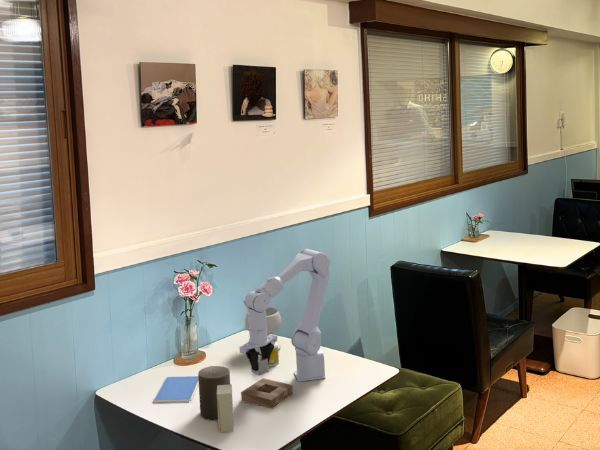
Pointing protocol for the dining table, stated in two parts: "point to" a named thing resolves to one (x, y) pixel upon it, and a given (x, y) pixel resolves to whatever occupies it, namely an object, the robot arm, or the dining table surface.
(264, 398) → the holder
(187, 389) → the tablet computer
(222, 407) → the skincare box
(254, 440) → the dining table surface
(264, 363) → the peg
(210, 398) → the pillar candle
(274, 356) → the supplement bottle
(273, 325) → the chalice
